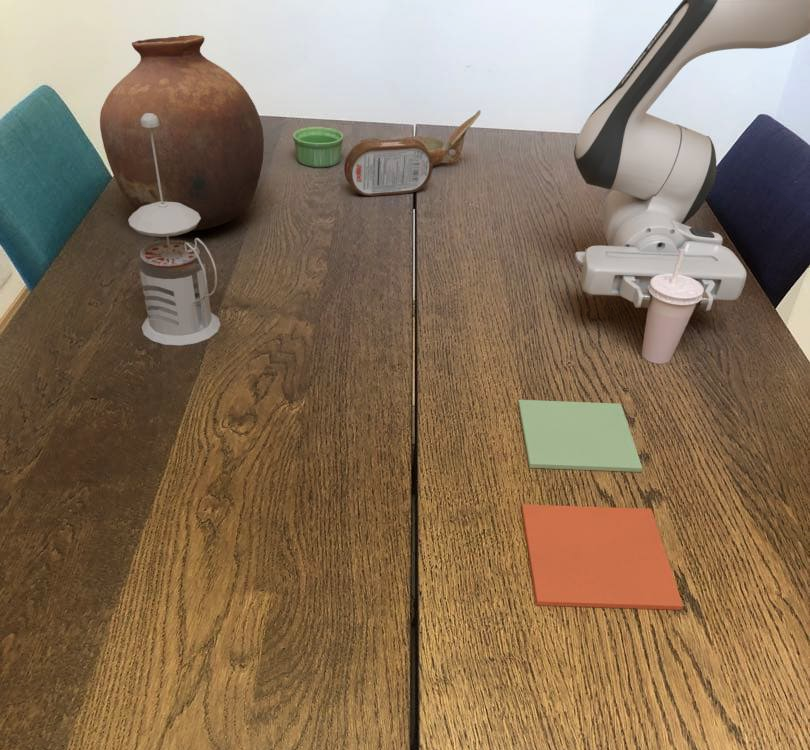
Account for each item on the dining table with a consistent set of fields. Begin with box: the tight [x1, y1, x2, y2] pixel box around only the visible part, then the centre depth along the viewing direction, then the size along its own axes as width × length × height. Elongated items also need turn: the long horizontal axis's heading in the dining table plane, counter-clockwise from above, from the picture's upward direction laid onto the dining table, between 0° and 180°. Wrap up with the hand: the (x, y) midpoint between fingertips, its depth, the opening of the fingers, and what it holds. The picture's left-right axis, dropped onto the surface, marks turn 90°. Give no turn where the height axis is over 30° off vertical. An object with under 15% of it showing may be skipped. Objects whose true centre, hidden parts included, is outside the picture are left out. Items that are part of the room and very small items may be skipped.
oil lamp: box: [359, 109, 481, 167], centre depth 147 cm, size 9×21×10 cm, turn 80°
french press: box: [128, 113, 221, 346], centre depth 95 cm, size 10×12×25 cm
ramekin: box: [292, 126, 344, 169], centre depth 148 cm, size 9×9×4 cm
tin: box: [343, 138, 434, 197], centre depth 136 cm, size 15×3×8 cm, turn 108°
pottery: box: [99, 34, 265, 232], centre depth 119 cm, size 23×23×25 cm
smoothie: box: [641, 249, 704, 365], centre depth 99 cm, size 6×6×14 cm
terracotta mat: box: [520, 503, 684, 611], centre depth 77 cm, size 13×13×1 cm
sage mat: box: [517, 399, 643, 473], centre depth 91 cm, size 12×12×1 cm
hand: (675, 303), depth 98 cm, fingers closed on smoothie, 6 cm apart
